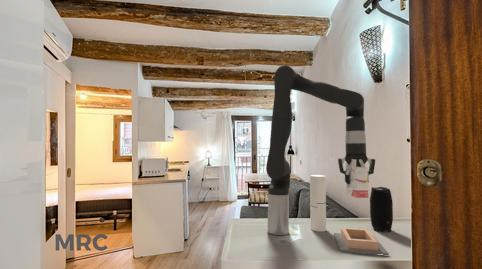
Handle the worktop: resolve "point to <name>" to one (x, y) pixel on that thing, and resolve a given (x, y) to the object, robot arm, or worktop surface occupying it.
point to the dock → (358, 242)
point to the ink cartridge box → (357, 181)
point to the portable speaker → (381, 209)
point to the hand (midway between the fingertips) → (356, 184)
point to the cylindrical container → (318, 202)
